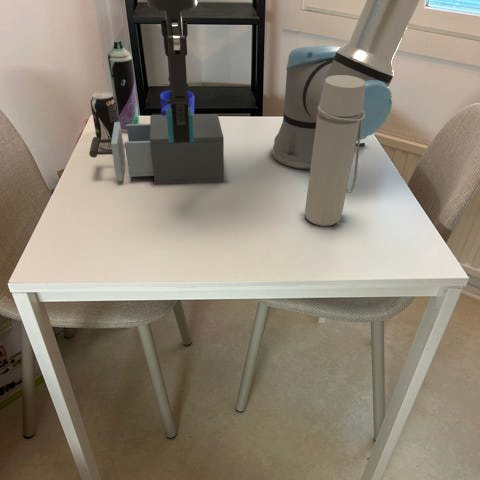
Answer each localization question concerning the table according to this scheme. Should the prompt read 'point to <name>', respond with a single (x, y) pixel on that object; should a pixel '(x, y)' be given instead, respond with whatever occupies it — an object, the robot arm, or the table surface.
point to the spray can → (123, 85)
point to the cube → (170, 124)
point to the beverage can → (104, 116)
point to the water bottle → (334, 148)
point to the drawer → (128, 150)
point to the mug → (164, 104)
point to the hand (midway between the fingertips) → (181, 135)
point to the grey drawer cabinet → (188, 152)
